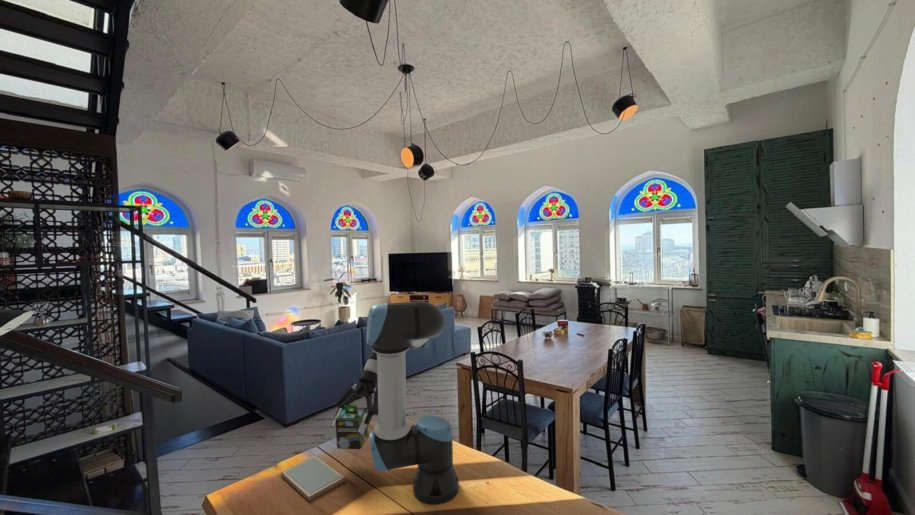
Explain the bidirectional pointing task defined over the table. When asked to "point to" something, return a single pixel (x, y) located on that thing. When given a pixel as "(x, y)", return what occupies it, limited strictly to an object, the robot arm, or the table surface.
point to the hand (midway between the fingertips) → (347, 429)
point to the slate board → (312, 477)
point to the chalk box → (350, 428)
